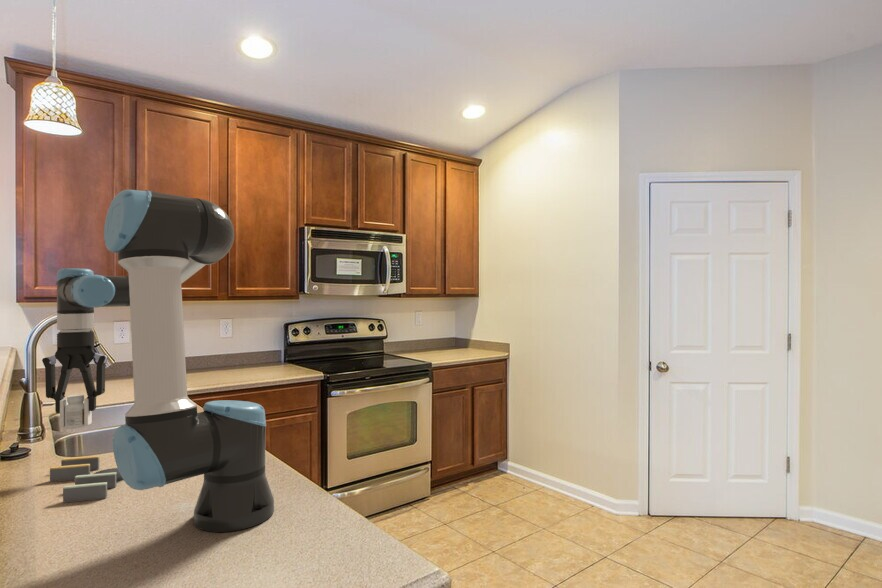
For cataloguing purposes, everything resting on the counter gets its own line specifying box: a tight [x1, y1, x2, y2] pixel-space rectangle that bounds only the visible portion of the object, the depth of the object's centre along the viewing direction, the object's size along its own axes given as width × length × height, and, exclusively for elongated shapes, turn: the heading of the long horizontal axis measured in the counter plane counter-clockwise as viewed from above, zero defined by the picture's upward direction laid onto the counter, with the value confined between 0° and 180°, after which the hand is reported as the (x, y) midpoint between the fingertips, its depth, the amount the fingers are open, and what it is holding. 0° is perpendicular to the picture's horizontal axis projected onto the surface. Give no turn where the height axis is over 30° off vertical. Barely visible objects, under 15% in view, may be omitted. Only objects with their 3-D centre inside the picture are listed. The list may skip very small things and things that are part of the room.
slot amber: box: [49, 455, 100, 483], centre depth 127 cm, size 8×8×3 cm
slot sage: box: [62, 472, 117, 503], centre depth 115 cm, size 8×8×3 cm
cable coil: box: [93, 467, 124, 484], centre depth 124 cm, size 7×7×2 cm
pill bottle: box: [64, 394, 86, 430], centre depth 126 cm, size 4×4×8 cm
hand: (76, 424), depth 126 cm, fingers closed on pill bottle, 4 cm apart
